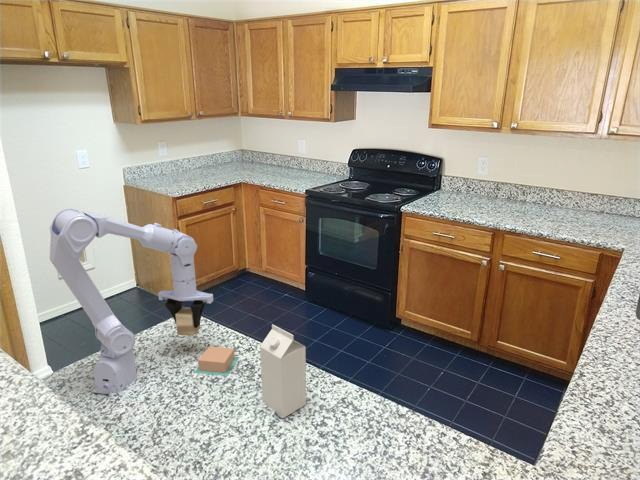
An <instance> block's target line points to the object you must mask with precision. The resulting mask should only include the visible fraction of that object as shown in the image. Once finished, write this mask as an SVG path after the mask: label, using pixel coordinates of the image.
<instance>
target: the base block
mask: <svg viewBox="0 0 640 480" xmlns="http://www.w3.org/2000/svg"><path fill="white" fill-rule="evenodd" d="M235 357H236V356H235V348H230V347H221V346H220V347H219V346H208V347H207V349H206V350H205V351H204V352H203V353H202V354H201V356H200V357H199V358H198V359H197V365H198V366H199V371H206V372H216V373H226V371H227V370H228V368H229V367H230V365H231V364H232V362H233V361H234V359H235ZM198 366H197V367H198Z"/></svg>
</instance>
